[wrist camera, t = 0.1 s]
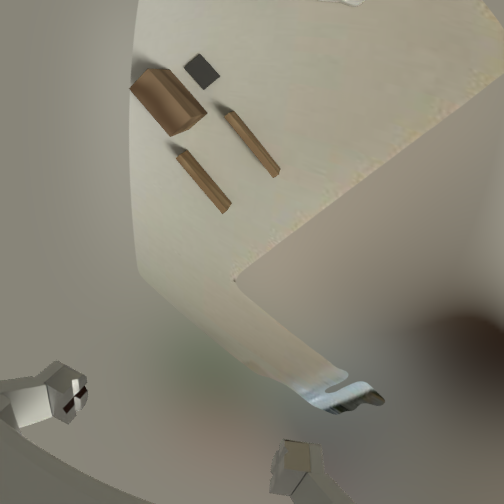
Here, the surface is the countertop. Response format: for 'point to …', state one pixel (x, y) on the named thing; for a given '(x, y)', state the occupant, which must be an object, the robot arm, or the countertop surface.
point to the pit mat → (202, 72)
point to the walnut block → (167, 100)
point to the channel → (205, 180)
